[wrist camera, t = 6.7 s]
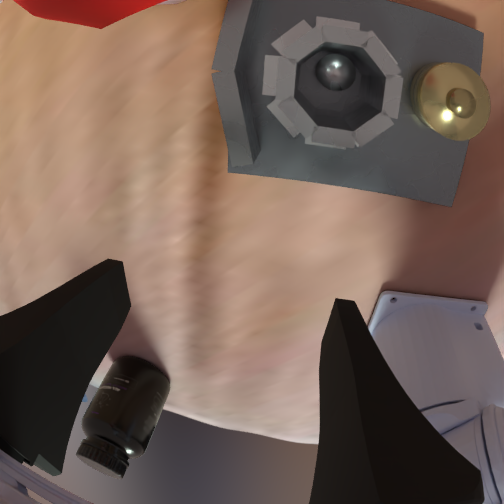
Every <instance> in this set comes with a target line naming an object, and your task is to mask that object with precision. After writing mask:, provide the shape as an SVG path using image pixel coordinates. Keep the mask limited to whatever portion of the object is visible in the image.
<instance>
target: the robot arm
mask: <svg viewBox="0 0 504 504" xmlns="http://www.w3.org/2000/svg"><path fill="white" fill-rule="evenodd" d="M393 297H395V299H393V300H391V298H393ZM473 306H474V307H473ZM130 307H131V303H130V298H129V293H128V288H127V282H126V277H125V272H124V266H123V262H122V261H117V260H112V259H107V260H105V261H103V262H101V263H99V264H97V265H95V266H94V267H92V268H90V269H88V270H87V271H85V272H83V273H82V274H80V275H78V276H77V277H75V278H73V279H71V280H70V281H68V282H66V283H65V284H63V285H61V286H60V287H58V288H56V289H54V290H53V291H51V292H49V293H47V294H45V295H44V296H42V297H40V298H38V299H37V300H35V301H33V302H31V303H29V304H27V305H25V306H23V307H20V308H18V309H16V310H14V311H12V312H9V313H7V314H4V315H2V316H0V504H41V503H39V502H37V501H36V500H34V499H32V498H31V497H29V495H28V493H27V489H26V487H27V488H28V489H30V490H32V491H33V492H35V493H36V494H38V495H39V496H41V497H43V498H44V499H46V500H48V501H49V502H51V503H53V504H93V503H91V502H89V501H87V500H85V499H82V498H80V497H78V496H76V495H74V494H72V493H71V492H68V491H67V490H65V489H63V488H61V487H59V486H57V485H56V484H54V483H52V482H50V481H48V480H47V479H45V478H43V477H42V476H40V475H38V474H36V473H35V472H33V471H32V470H30V469H29V468H27V467H25V466H24V465H22V463H23V461H24V462H25V463H27V464H29V465H30V466H33V465H35V466H37V467H39V468H40V469H42V470H44V471H45V472H47V473H49V474H51V475H52V476H56V475H60V474H61V473H62V469H63V463H64V459H65V454H66V449H67V445H68V441H69V438H70V434H71V430H72V427H73V424H74V421H75V418H76V415H77V413H78V410H79V407H80V404H81V402H82V399H83V397H84V395H85V392H86V390H87V387H88V385H89V383H90V381H91V379H92V377H93V375H94V373H95V372H96V370H97V368H98V367H99V365H100V363H101V362H102V360H103V358H104V357H105V355H106V353H107V352H108V350H109V348H110V347H111V345H112V343H113V342H114V340H115V338H116V337H117V335H118V333H119V331H120V330H121V328H122V326H123V323H124V321H125V319H126V317H127V314H128V312H129V310H130ZM487 309H488V305H487V303H486V302H483V301H473V300H464V299H455V298H446V297H437V296H429V295H420V294H411V293H403V292H395V291H384V292H382V293H381V294H380V296H379V299H378V302H377V304H376V307H375V310H374V312H373V315H372V317H371V320H370V323H369V325H368V327H367V325H366V323H365V321H364V319H363V317H362V315H361V313H360V311H359V309H358V307H357V305H356V303H355V302H354V301H352V300H345V299H338V298H336V299H335V302H334V305H333V308H332V311H331V315H330V318H329V321H328V324H327V327H326V330H325V333H324V336H323V339H322V343H321V354H320V366H319V388H320V434H319V445H318V454H317V461H316V468H315V474H314V480H313V486H312V492H311V497H310V502H309V504H504V360H503V357H502V355H501V352H500V350H499V348H498V345H497V343H496V341H495V338H494V336H493V334H492V332H491V330H490V327H489V325H488V323H487V321H486V319H485V317H484V315H485V313H486V311H487Z"/></svg>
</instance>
